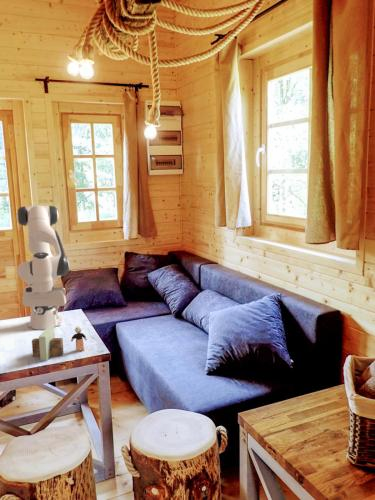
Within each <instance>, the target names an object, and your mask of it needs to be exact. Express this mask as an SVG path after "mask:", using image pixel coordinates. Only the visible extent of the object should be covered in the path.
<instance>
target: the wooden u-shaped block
mask: <svg viewBox="0 0 375 500" xmlns="http://www.w3.org/2000/svg"><path fill="white" fill-rule="evenodd" d="M31 348H32V357H40V346H39V337H38V338H37V337H36V338H33V339H32V340H31ZM64 354H65V353H64V340H63V337H55V338H52V340H51V348H50V357H61V356H63V355H64Z"/></svg>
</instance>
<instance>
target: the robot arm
mask: <svg viewBox="0 0 375 500" xmlns="http://www.w3.org/2000/svg"><path fill="white" fill-rule="evenodd" d="M59 215H60V213H59V211H58V209H57V207H56V206H54V205H40V204H39V205H31V206H29V205H28V206H21V207H19V208H18V209H17V211H16V220H17V222H18V224H19V225H20V226H24V227H25V226H27V230H28V234H27V235H28V249H29V252H30V253H31V254H32V259H31V260H29V261H23V262H20V264H18V266H17V268H16V271H17V272H16V273H17V275H18V277H19V279H21V280H22V281H23V282H25V283H26V284H27V285H26V286H25V287H23V294H22V298H21V299H22V306H23V307H30V310H31V312H30V319H29V321H30V322H29V324H28V325H27V326H28V327H29V328H31V329H33V330H37V331H38V330H40V331H41V330H46V328H47V327H54V328H56V327H59V326H61V324H62V322H63V316H59V308H60V307H64V306H65V305H66V304H67V296H66V292H67V291H66V288H65V287H63V286H54V280H56V279H59V278H61V277H65V275H67V274H68V273H69V271H70V263H69V259H68V257H67V255H66V252H65V250H64V247H63V244H62V240H61V238H60V235H59V233H58V231H57V230H55V229H53V228H52V226H53V225H55V224H57V223H58V221H59V219H60V218H59ZM50 246H53V248H54V251H55V254H56V255H53V254H52V252H51V247H50Z"/></svg>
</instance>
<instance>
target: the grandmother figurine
mask: <svg viewBox="0 0 375 500" xmlns="http://www.w3.org/2000/svg"><path fill="white" fill-rule="evenodd" d="M74 332H75V334H73V335H72V337H71V340H70V341H71V342H74V340H75V349H76V350H75V351H76V352H77V353H79V352H84V351H86V348H85V343H84V340H85V341H88V338H87V336H86V335H85V334H84V333H82V327H81V326H80V325H77V326H76V327H75V328H74Z"/></svg>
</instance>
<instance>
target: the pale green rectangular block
mask: <svg viewBox="0 0 375 500" xmlns="http://www.w3.org/2000/svg"><path fill="white" fill-rule="evenodd" d="M55 335H56V334H55V327H47V328H46V329H44V330H43V332H42V333H40V335H39V336H38V338H39V346H40V356H39V357H40V362H47V361H48V360H49V359H50V358H51V356H50V348H51V340H52V338H56V336H55Z"/></svg>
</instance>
